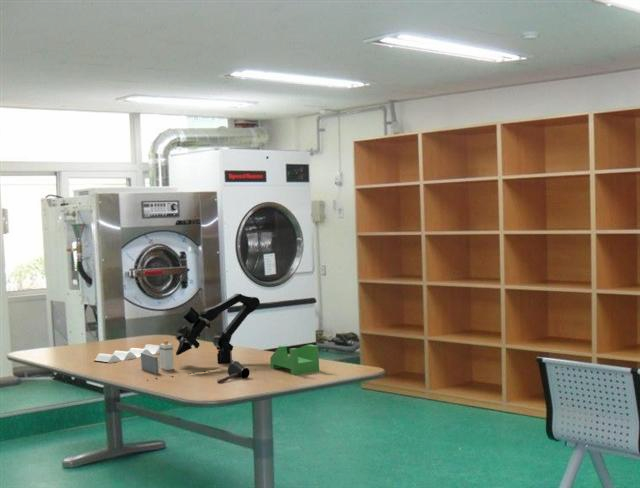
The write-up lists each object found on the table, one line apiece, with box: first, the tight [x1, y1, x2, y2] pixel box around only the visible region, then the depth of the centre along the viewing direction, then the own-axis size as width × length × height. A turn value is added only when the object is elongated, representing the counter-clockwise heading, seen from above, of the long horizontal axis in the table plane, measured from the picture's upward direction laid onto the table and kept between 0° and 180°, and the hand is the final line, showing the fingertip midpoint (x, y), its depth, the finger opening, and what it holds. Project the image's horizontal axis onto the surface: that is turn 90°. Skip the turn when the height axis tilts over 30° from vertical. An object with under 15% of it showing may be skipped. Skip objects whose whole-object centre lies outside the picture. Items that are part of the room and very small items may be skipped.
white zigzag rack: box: [93, 343, 160, 364], centre depth 464 cm, size 13×35×5 cm, turn 137°
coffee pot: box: [216, 360, 250, 384], centre depth 381 cm, size 8×18×8 cm
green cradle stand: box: [269, 344, 320, 376], centre depth 397 cm, size 24×13×12 cm, turn 29°
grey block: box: [140, 353, 161, 375], centre depth 411 cm, size 14×20×9 cm
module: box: [159, 339, 175, 371], centre depth 413 cm, size 4×7×14 cm, turn 31°
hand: (176, 354), depth 415 cm, fingers closed
